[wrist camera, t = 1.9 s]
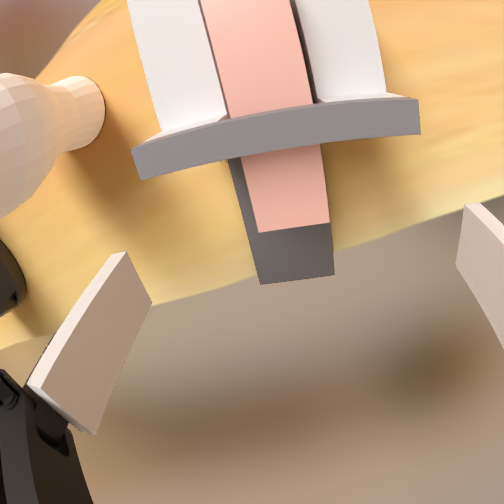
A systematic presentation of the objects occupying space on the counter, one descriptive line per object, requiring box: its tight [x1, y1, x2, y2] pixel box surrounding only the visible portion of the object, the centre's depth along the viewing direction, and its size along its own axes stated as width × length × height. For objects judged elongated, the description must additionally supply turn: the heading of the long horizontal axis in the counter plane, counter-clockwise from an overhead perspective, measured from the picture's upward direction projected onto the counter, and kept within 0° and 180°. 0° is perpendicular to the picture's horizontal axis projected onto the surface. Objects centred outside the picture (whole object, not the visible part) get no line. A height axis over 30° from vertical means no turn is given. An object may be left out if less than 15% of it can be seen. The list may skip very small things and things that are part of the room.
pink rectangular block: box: [200, 0, 330, 233], centre depth 15 cm, size 4×14×6 cm, turn 13°
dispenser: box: [127, 0, 421, 180], centre depth 14 cm, size 13×12×13 cm
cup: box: [0, 73, 105, 218], centre depth 17 cm, size 11×11×15 cm
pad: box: [228, 147, 334, 284], centre depth 28 cm, size 8×16×1 cm, turn 13°
